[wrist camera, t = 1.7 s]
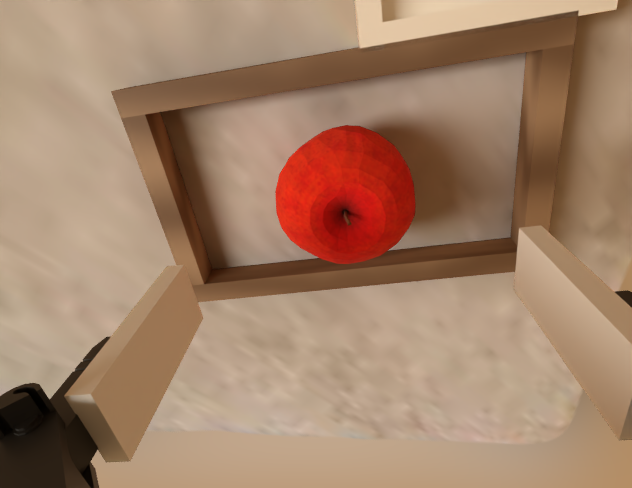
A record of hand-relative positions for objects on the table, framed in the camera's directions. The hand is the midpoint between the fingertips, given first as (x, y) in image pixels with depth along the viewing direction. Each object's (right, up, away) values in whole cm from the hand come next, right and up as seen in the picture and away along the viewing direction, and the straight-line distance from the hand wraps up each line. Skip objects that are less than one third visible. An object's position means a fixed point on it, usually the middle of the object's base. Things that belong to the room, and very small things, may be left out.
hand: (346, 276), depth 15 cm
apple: (+1, +6, +10) cm, 12 cm away
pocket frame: (+1, +6, +10) cm, 12 cm away
